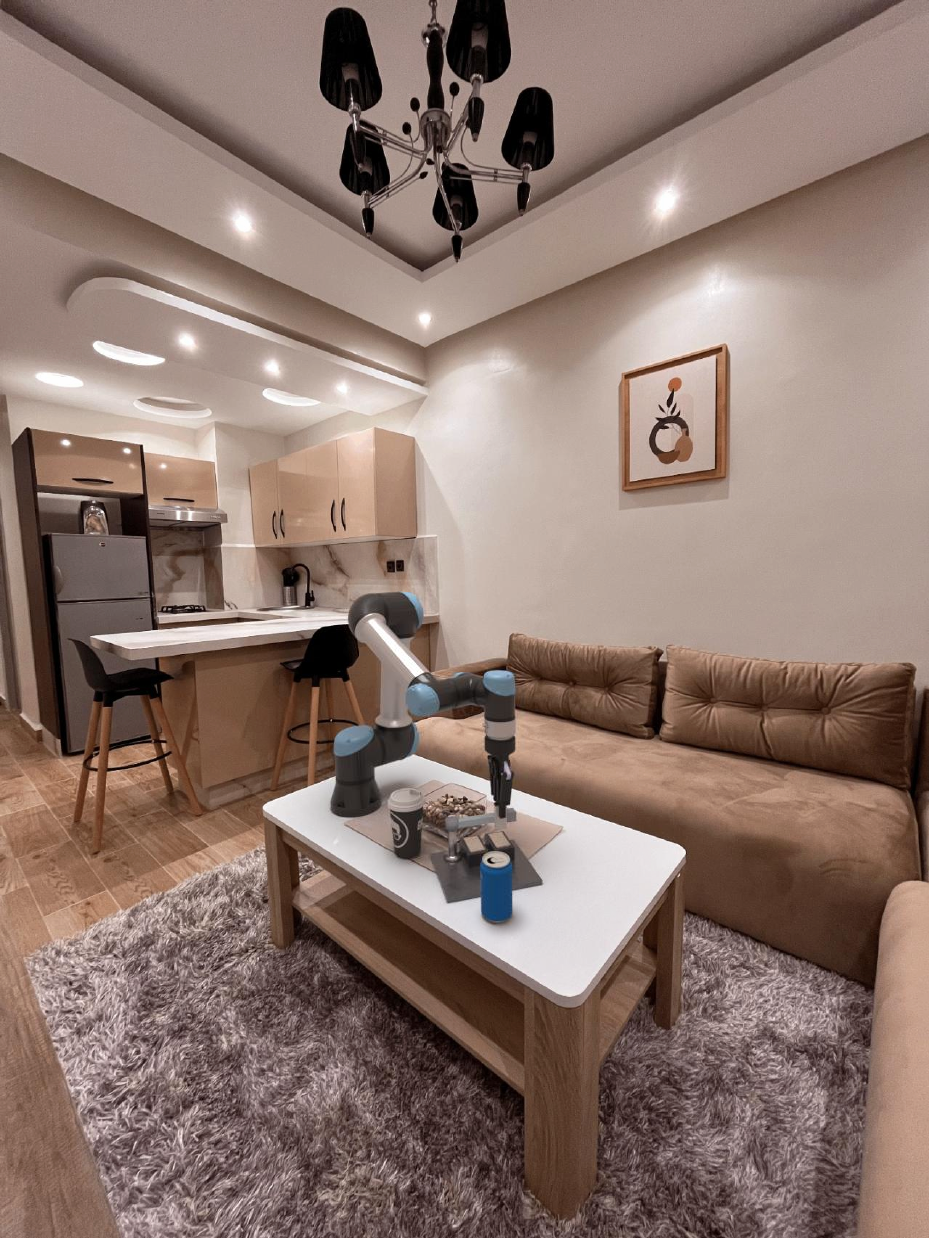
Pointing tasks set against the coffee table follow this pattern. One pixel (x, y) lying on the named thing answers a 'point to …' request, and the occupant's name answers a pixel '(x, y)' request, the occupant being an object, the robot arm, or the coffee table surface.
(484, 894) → the beverage can
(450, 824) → the cable arm
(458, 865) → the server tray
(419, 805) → the coffee cup
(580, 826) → the coffee table surface
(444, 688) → the robot arm
